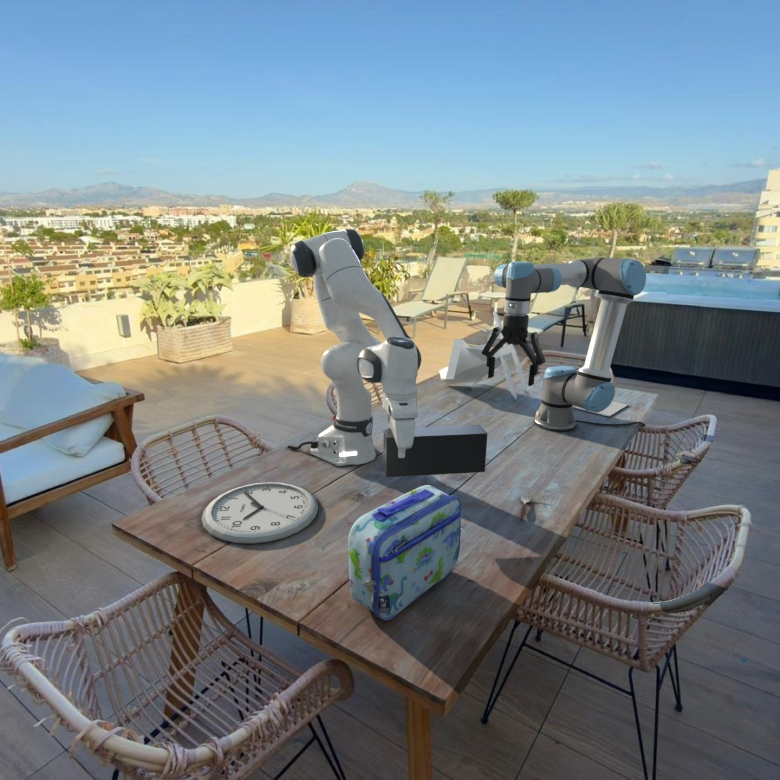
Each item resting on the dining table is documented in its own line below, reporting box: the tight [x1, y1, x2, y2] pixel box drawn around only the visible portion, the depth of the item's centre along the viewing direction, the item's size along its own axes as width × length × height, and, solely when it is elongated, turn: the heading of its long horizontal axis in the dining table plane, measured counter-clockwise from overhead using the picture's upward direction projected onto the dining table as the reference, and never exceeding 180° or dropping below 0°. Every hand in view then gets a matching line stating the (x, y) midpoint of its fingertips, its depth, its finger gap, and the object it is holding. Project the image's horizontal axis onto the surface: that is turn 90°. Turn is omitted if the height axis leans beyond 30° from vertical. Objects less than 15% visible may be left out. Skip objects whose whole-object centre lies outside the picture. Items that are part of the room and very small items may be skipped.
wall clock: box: [201, 481, 319, 544], centre depth 139 cm, size 30×2×30 cm
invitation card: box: [573, 400, 629, 418], centre depth 226 cm, size 21×1×15 cm
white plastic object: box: [438, 310, 531, 400], centre depth 245 cm, size 37×45×31 cm
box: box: [382, 424, 488, 478], centre depth 139 cm, size 26×6×11 cm, turn 98°
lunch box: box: [347, 484, 462, 621], centre depth 107 cm, size 26×11×21 cm, turn 134°
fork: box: [520, 488, 533, 521], centre depth 143 cm, size 3×16×2 cm, turn 160°
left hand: (398, 450), depth 138 cm, fingers closed on box, 6 cm apart
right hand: (510, 381), depth 165 cm, fingers open, 13 cm apart
